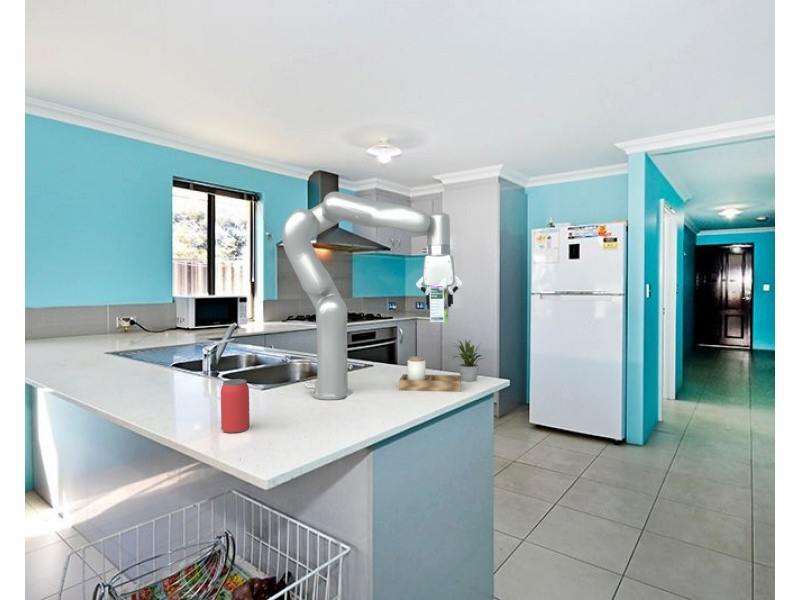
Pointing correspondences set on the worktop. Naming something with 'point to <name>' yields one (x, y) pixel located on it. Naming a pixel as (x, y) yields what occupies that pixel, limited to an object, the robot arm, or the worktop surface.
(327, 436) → the worktop surface
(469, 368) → the house plant
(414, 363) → the ceramic jar
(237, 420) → the beer can
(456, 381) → the wooden tray
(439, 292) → the syrup box
